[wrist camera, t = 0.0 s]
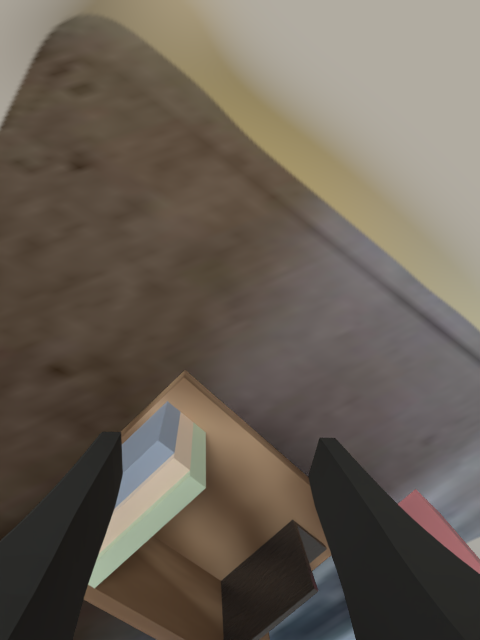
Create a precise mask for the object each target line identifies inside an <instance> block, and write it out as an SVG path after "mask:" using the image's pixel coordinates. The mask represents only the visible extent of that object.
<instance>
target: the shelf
mask: <svg viewBox="0 0 480 640" xmlns="http://www.w3.org/2000/svg"><path fill="white" fill-rule="evenodd" d="M167 401H168V402H169V403H170V404H172V405H173V406H174V407H175V408H177V409H178V410H179V411H180V412H181V413H183V414H184V415H185V416H186V417H188V418H189V419H190V420H191V421H192V422H194V423H195V424H196V425H197V426H198V427H200V428H201V429H202V430H203V431H205V432H206V488H205V489H204V490H203V491H202V492H201V493H200V494H199V495H198V496H196V497H195V498H194V499H193V500H192V501H191V502H190V503H189V504H188V505H186V506H185V507H184V508H183V509H182V510H181V511H180V512H179V513H178V514H176V515H175V516H174V517H173V518H172V519H171V520H170V521H169V522H168V523H166V524H165V525H164V526H163V527H162V528H161V529H160V530H159V531H158V532H157V533H155V534H154V535H153V536H152V537H151V538H150V539H149V540H148V541H147V542H145V543H144V544H143V545H142V546H141V547H140V548H139V549H138V550H137V551H135V552H134V553H133V554H132V555H131V556H130V557H129V558H128V559H127V560H125V561H124V562H123V563H122V564H121V565H120V566H119V567H118V568H117V569H115V570H114V571H113V572H112V573H111V574H110V575H109V576H108V577H107V578H106V579H104V580H103V581H102V582H101V583H100V584H99V585H98V586H97V587H96V588H93V587H91V586H90V585H88V586H87V590H86V593H85V596H84V600H86V601H88V602H90V603H91V604H93V605H95V606H97V607H99V608H100V609H102V610H104V611H106V612H108V613H109V614H111V615H113V616H115V617H117V618H119V619H120V620H122V621H124V622H126V623H128V624H129V625H131V626H133V627H135V628H137V629H139V630H140V631H142V632H144V633H146V634H148V635H149V636H151V637H153V638H155V639H157V640H224V638H223V616H222V594H221V580H222V579H224V578H225V577H226V576H227V575H228V574H229V573H231V572H232V571H233V570H234V569H235V568H237V567H238V566H239V565H240V564H241V563H242V562H244V561H245V560H246V559H247V558H248V557H249V556H251V555H252V554H253V553H254V552H255V551H256V550H258V549H259V548H260V547H261V546H262V545H263V544H265V543H266V542H267V541H268V540H269V539H270V538H272V537H273V536H274V535H275V534H276V533H277V532H279V531H280V530H281V529H282V528H283V527H284V526H286V525H287V524H288V523H289V522H290V521H291V520H294V521H295V522H297V523H298V524H299V525H300V526H302V527H303V528H304V529H305V530H307V531H308V532H309V533H310V534H312V535H313V536H314V537H315V538H317V539H318V540H319V541H320V542H322V543H323V544H324V545H325V546H326V548H327V549H326V550H325V551H324V552H323V553H322V554H320V555H319V556H318V557H317V558H316V559H314V560H313V561H312V562H311V563H310V567H311V570H312V571H313V570H314V569H315V568H316V567H318V566H319V565H320V564H321V563H322V562H324V561H325V560H326V559H327V558H328V557H330V556H331V552H330V549H329V546H328V543H327V540H326V537H325V535H324V532H323V529H322V526H321V523H320V520H319V517H318V514H317V511H316V508H315V505H314V500H313V496H312V492H311V487H310V482H309V478H308V477H307V476H306V475H305V474H304V473H303V472H302V471H300V470H299V469H298V468H297V467H296V466H295V465H294V464H292V463H291V462H290V461H289V460H288V459H287V458H286V457H284V456H283V455H282V454H281V453H280V452H279V451H278V450H276V449H275V448H274V447H273V446H272V445H271V444H269V443H268V442H267V441H266V440H265V439H264V438H263V437H261V436H260V435H259V434H258V433H257V432H256V431H255V430H253V429H252V428H251V427H250V426H249V425H248V424H247V423H245V422H244V421H243V420H242V419H241V418H240V417H239V416H237V415H236V414H235V413H234V412H233V411H232V410H230V409H229V408H228V407H227V406H226V405H225V404H224V403H222V402H221V401H220V400H219V399H218V398H217V397H216V396H214V395H213V394H212V393H211V392H210V391H209V390H208V389H206V388H205V387H204V386H203V385H202V384H201V383H200V382H198V381H197V380H196V379H195V378H194V377H193V376H191V375H190V374H189V373H188V372H187V371H186V370H185V371H183V372H182V373H181V374H180V375H179V376H178V377H177V378H176V379H175V380H174V381H173V382H172V383H171V384H170V385H169V386H168V387H167V388H166V389H165V390H164V391H163V392H162V393H161V394H160V395H159V396H158V397H156V398H155V399H154V400H153V401H152V402H151V403H150V404H149V405H148V406H147V407H146V408H145V409H144V410H143V411H142V412H141V413H140V414H139V415H138V416H137V417H136V418H135V419H134V420H133V421H132V422H131V423H129V424H128V425H127V426H126V427H125V428H124V429H123V430H122V431H121V440H122V444H123V443H124V442H125V441H126V440H127V439H128V438H129V437H130V436H131V435H132V434H134V433H135V432H136V431H137V430H138V429H139V428H140V427H141V426H142V425H143V424H144V423H145V422H146V421H147V420H148V419H149V418H150V417H151V416H152V415H153V414H154V413H155V412H157V411H158V410H159V409H160V408H161V407H162V406H163V405H164V404H165V403H166V402H167ZM259 640H270V638H269V632H268V633H267V634H266V635H264V636H263V637H262V638H261V639H259Z"/></svg>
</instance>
